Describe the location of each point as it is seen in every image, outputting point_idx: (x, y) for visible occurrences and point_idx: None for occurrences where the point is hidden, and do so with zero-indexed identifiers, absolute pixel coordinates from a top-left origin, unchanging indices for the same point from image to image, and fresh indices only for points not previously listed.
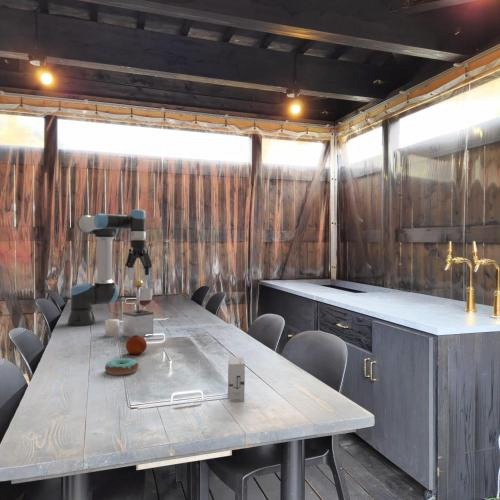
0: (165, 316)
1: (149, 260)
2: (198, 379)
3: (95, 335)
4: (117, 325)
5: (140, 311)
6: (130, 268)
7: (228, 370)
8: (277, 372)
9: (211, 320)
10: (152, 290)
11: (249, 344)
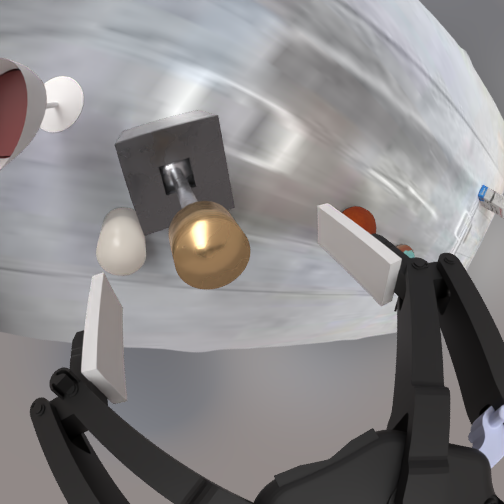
0: None
1: (479, 307)
2: (456, 197)
3: (104, 270)
4: (141, 231)
5: (159, 160)
6: (119, 386)
7: (497, 211)
8: (485, 119)
9: None
10: (14, 61)
11: (418, 16)
